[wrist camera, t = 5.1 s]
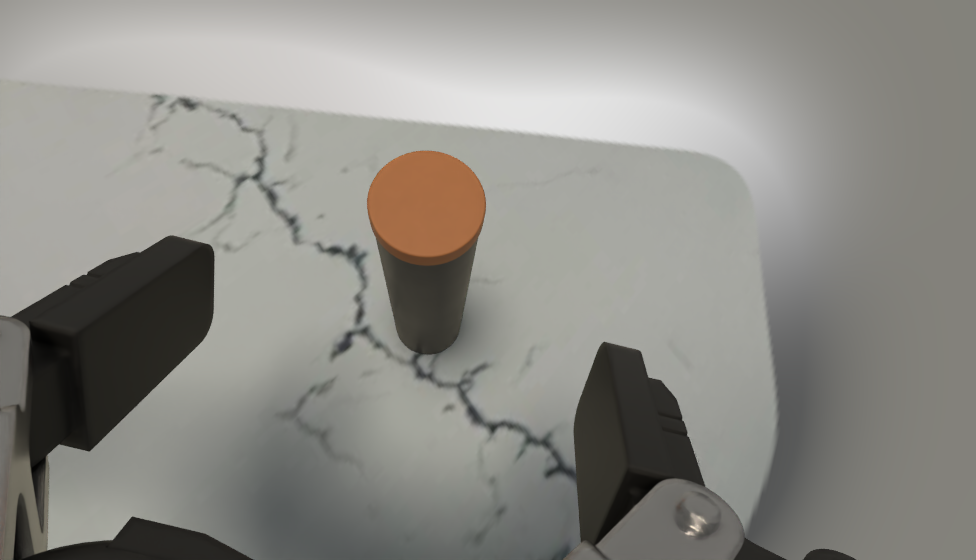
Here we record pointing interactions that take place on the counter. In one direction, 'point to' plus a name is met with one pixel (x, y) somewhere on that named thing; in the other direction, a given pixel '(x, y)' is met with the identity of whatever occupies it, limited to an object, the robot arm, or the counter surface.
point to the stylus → (427, 243)
